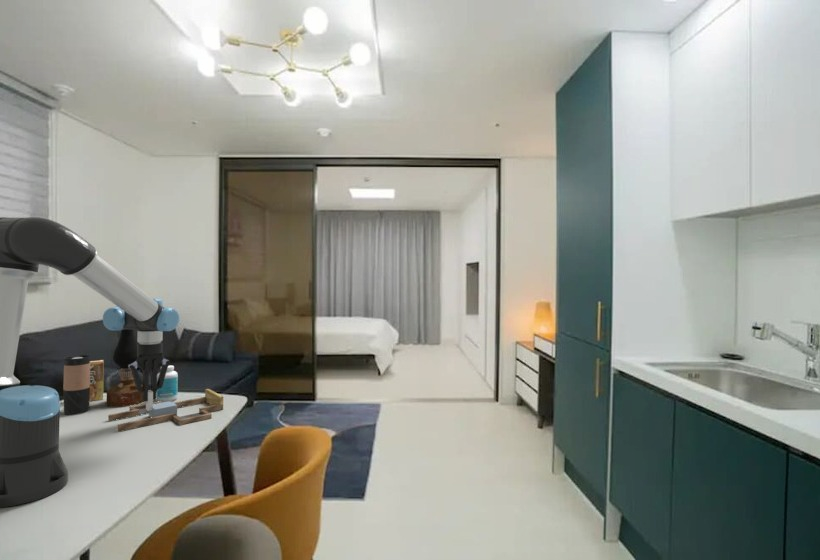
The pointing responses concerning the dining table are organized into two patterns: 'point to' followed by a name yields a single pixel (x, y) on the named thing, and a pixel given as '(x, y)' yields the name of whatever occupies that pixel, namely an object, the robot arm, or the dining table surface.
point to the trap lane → (203, 414)
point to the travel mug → (76, 384)
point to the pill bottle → (168, 386)
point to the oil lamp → (125, 373)
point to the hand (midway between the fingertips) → (149, 409)
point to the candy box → (96, 380)
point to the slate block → (163, 409)
